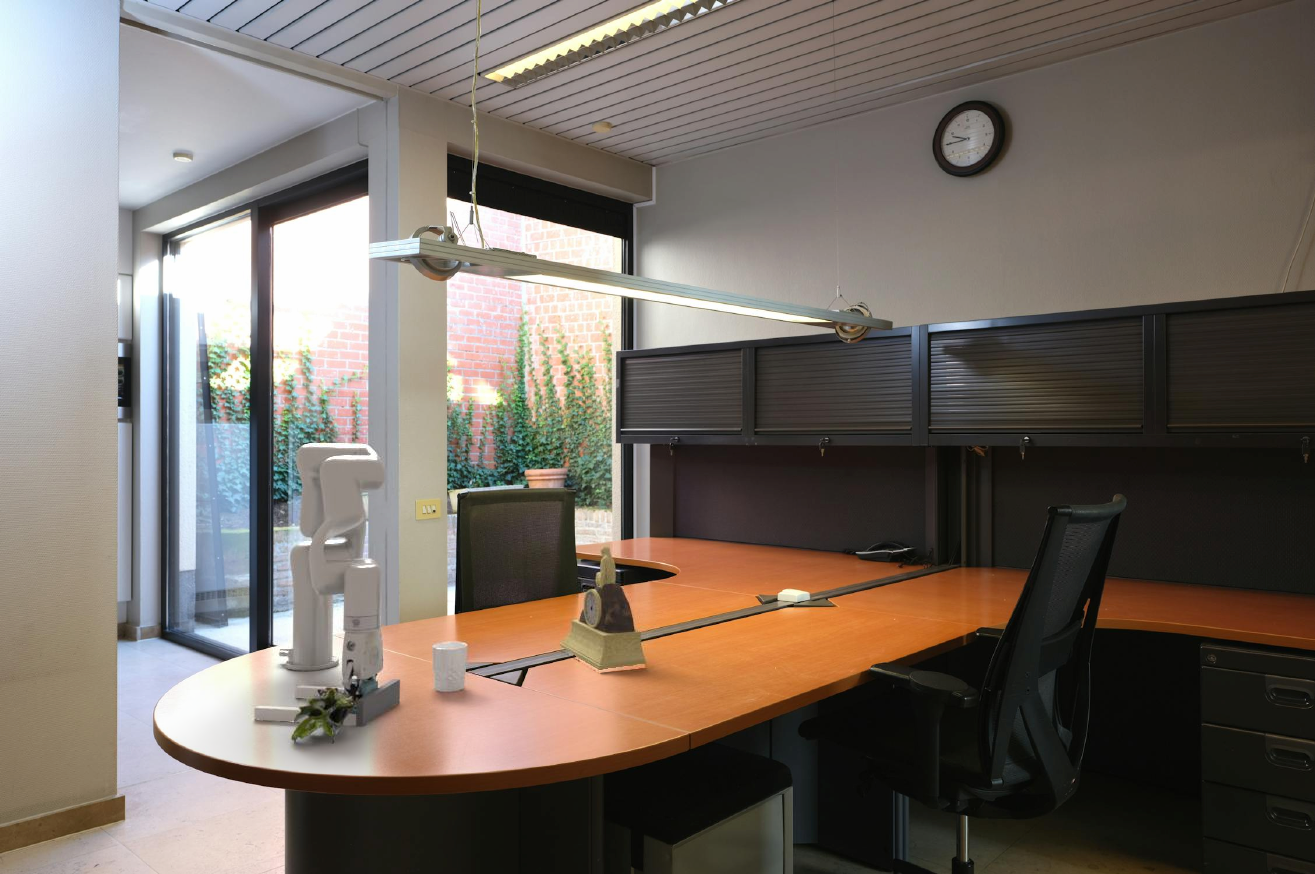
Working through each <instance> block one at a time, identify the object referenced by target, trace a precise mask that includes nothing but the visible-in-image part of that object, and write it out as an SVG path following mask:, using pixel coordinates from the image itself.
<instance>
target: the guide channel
mask: <svg viewBox="0 0 1315 874" xmlns="http://www.w3.org/2000/svg"><path fill="white" fill-rule="evenodd" d="M326 687H327V686H319V685H317V686H315V685H298V686H296V688H295V689H296V691H295V694H296V696H295V699H296V698H304V699H303V700H307V699H308V698H315V696H316V697H317V695H318V696H319V693H318V692H317V691H318V689H320V690H326ZM330 687H331V688H338V691H339V692H340V691H341V693H344V687H336V686H335V687H334V686H330ZM400 690H401V679H400V678H392V679H391V680H389V681H388V682H386V683H384V684H382V685H381V686H378V688H377V689H376V690H374V691H372V692H371V693H369V694H367V695H366V696H364V697H362V698H360V699H359V700H358V706H356V709H358V710H359V713H358V714H348V716H347V717H346V718H345V719H344V721H343V725H342V726H349V727H350V726H351V727H352V726H353V727H364V726H366V725H367V724H369V723H370V722H372V721H373V720H376V718H378V717H379V716H381V715H382V714H384V713H386V712H387V711H389V710H390V709H392V708H393V707H395V706H396V705H397V704H399V703H400V701H401V700H400V699H401V691H400ZM324 694H325V693H323V695H324ZM314 695H315V696H314ZM315 699H316V698H315ZM300 712H301V710H300V709H299V707H289V706H272V705H258V706H255V707H254V720H255V719H259V720H258V721H263V720H275V721H274V722H280V721H294V719H295V717H296V716H297V715H296V713H300ZM308 717H309V716H308V715H306V716H305V717H302V718H301V719H298V720H297V721H295V723H297V722H303V721H304V720H305V719H307V718H308Z"/></svg>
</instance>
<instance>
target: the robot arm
mask: <svg viewBox="0 0 1315 874" xmlns="http://www.w3.org/2000/svg"><path fill="white" fill-rule="evenodd" d="M295 462H296V463H295V464H296V468H297V471H298V474H299V478H300V482H301V486H302V487H301V489H302V490H301V499H300V500H301V501H300V510H299V531H300V533H301V535H302V536H303V537H305V538H307V539H311V540H308V541H307V540H306V541H303V542H300V543H298V544H295V545H294V546H293V547H292V548H291V551H290V554H289V563H290V564H289V565H290V569H291V577H292V588H293V589H292V590H293V592H292V593H293V594H292V595H293V596H292V598H293V599H292V600H293V601H292V604H293V605H292V606H293V609H292V611H293V612H292V646H291V647H281V648H280V649H279V652H278V653H279V654H278V655H279V657H287V658H288V660H286V662H285V667H287V669H288V668H289V669H288V670H291V669H292V671H299V670H301V672H302V671H304V672H305V671H306V672H307V671H319V670H320V671H321V670H324V669H325V670H326V669H329V668H332V667H336V666H337V665H338V664H339V663H340V662H339V661H340V659H339V657H337V656H335V655H333V650H334V648H333V645H334V643H333V642H334V637H333V636H334V635H333V634H334V596H335V595H336V596H337V595H343V628H342V629H343V630H342V631H343V632H344V636H343V644H342V652H341V653H342V657H341V676H342V680H341V686H343V688H344V687H345V689H346V694H347V695H348V694H350V697H351V696H353V697H354V698H353V700H354V701H355V700H356V698H357V697H358V700H359V699H360V698H362V697H363V694H360V693H361V687H362V681H364V680H371V681H377V676H378V674H379V673H380V672H382V670H383V669H384V644H383V642H384V641H383V634H382V578H383V577H382V575H383V574H382V567H381V566H380V565H379V564H378V563H377V561H376V560H375V559H373V558H370V557H364V550H365V541H366V530H367V514H366V509H365V507H364V499H363V494H362V493H363V492H379V491H380V490H382V489H383V487H384V486H385V483H386V469H385V466H384V465H385V464H384V462H383V460H382V459H381V458H380V456H379V454H378V453H377V452H376V451H375V450H374V449H373V448H372V447H371V446H370V445H369V444H364V443H331V442H330V443H327V442H326V443H323V442H321V443H318V442H317V443H315V442H314V443H307V444H303V445H301V446H300V447H298V449H297V452H296V457H295ZM340 538H341V539H340ZM353 677H355V678H353ZM352 682H357V687H356V685H355V684H353V683H352ZM355 709H356V707H355Z"/></svg>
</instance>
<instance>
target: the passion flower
mask: <svg viewBox="0 0 1315 874" xmlns="http://www.w3.org/2000/svg"><path fill="white" fill-rule="evenodd" d="M325 687H326V690H320V689H318V691H317V692H318V693H319V696H318V695H317V697H316V696H315V695H314V696H315V698H316V699H315V698H308V699H306V700H307V701H306V702H307V703H308V704H306V705H304V706H302V705H301V706H298V708H299V709H300V710H301V712H300V713H296V715H297V716H296V717H295V719H294V722H293V723H295V724H296V722H295V721H297V720H298V719H301V718H302V717H305V716H306V715H308V716H309V717H308V718H307V719H305V720H304V721H303V722H301V723H299V724H298V726H297V727H296V728H295V729H294V731H293V733H292V735H291V738H290V739H291V740H292V741H293V742H294V743H297V740H298V739H301V740H302V739H304V738H306V737H309V736H310V735H312V733H314V732H315V731H317V730H318V729H320V728H321V727H322V730H323V732H324V733H325V734H327V735H328V736H330V737H333V739H332V741H331V742H332V743H331V744H334V743H335V740H336V738H337V736H338V733H339V730H340V728H341V727H342V726H344V725H343V721H344V719H345V718H346V717H347V716H348V714H358V713H359V710H358V709H355V707H356V706H358V697H357V698H356V700H355V701H354V700H353V698H354V697H353V696H351V697H350V694H348V695H346V693H345V692H344V693H341V691H340V692H339V691H338V688H339V687H338V688H331V687H332V686H325ZM323 693H325V694H324V695H323Z"/></svg>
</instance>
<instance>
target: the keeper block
mask: <svg viewBox="0 0 1315 874" xmlns="http://www.w3.org/2000/svg"><path fill="white" fill-rule="evenodd" d="M352 683H353V684H355V685H356V687H357V682H352ZM343 688H344V692H345V693H346V689H345V687H344V686H343ZM377 688H379V680H376V681H371V680H364V681H362V687H361V693H360V694H363V697H364V696H366V695H367V694H369V693H371V692H372V691H374V690H376V689H377ZM346 695H347V694H346Z"/></svg>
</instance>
